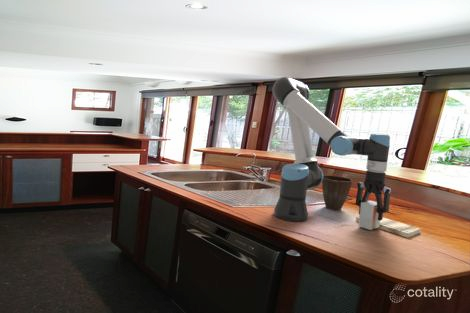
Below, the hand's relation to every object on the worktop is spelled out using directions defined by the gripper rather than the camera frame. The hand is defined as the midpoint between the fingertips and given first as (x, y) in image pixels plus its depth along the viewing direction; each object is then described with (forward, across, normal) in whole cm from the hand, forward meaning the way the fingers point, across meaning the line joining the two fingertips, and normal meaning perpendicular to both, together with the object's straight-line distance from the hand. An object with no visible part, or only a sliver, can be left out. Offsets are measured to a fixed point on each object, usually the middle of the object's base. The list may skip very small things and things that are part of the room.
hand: (369, 224), depth 122 cm
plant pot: (+2, -25, +12) cm, 28 cm away
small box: (+1, 0, 0) cm, 1 cm away
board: (+1, +3, +10) cm, 11 cm away
